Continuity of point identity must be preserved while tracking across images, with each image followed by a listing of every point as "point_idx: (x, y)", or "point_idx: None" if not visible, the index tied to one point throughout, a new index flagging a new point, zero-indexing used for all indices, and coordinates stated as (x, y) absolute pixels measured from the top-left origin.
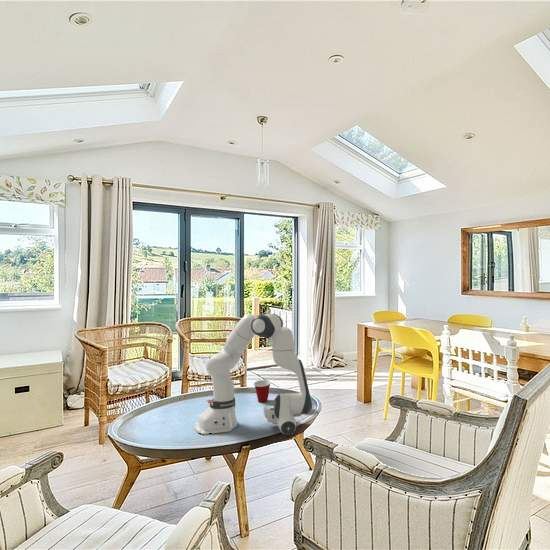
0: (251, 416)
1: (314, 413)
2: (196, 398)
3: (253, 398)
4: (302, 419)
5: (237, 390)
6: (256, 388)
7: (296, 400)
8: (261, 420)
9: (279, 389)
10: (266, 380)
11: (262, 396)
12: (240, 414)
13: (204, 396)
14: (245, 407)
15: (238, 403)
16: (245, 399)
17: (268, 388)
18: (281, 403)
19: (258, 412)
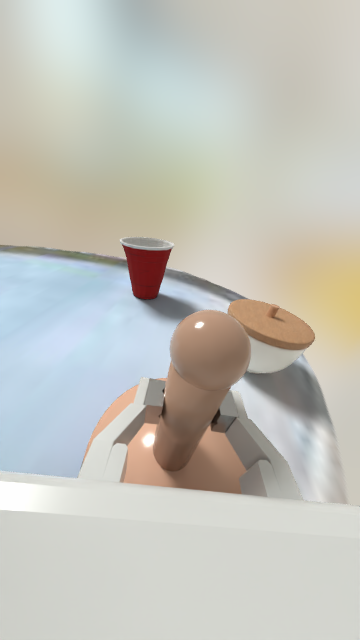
0: (36, 361)
1: (324, 403)
2: (4, 253)
3: (129, 282)
4: (300, 475)
5: (114, 261)
6: (125, 253)
7: None
8: (42, 424)
9: (193, 277)
10: (164, 241)
11: (141, 281)
12: (10, 333)
13: (31, 254)
14: (77, 303)
15: (77, 285)
16: (108, 280)
17: (162, 262)
18: None
19: (95, 338)
